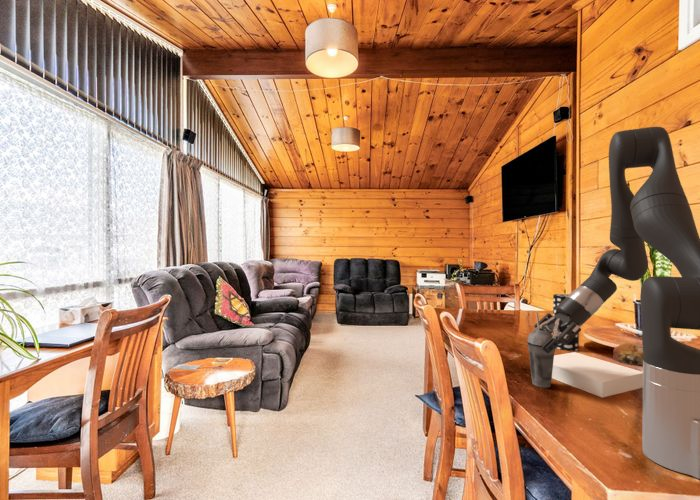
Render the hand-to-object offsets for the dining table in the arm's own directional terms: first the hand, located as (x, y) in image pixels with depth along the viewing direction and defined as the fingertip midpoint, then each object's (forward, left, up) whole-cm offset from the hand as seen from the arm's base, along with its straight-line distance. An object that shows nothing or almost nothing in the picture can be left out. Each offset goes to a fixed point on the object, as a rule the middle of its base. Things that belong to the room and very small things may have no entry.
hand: (536, 346), depth 97 cm
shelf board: (-3, -17, -11) cm, 20 cm away
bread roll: (+2, -47, -11) cm, 48 cm away
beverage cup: (-1, -1, -11) cm, 11 cm away
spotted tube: (+21, -41, -11) cm, 48 cm away
